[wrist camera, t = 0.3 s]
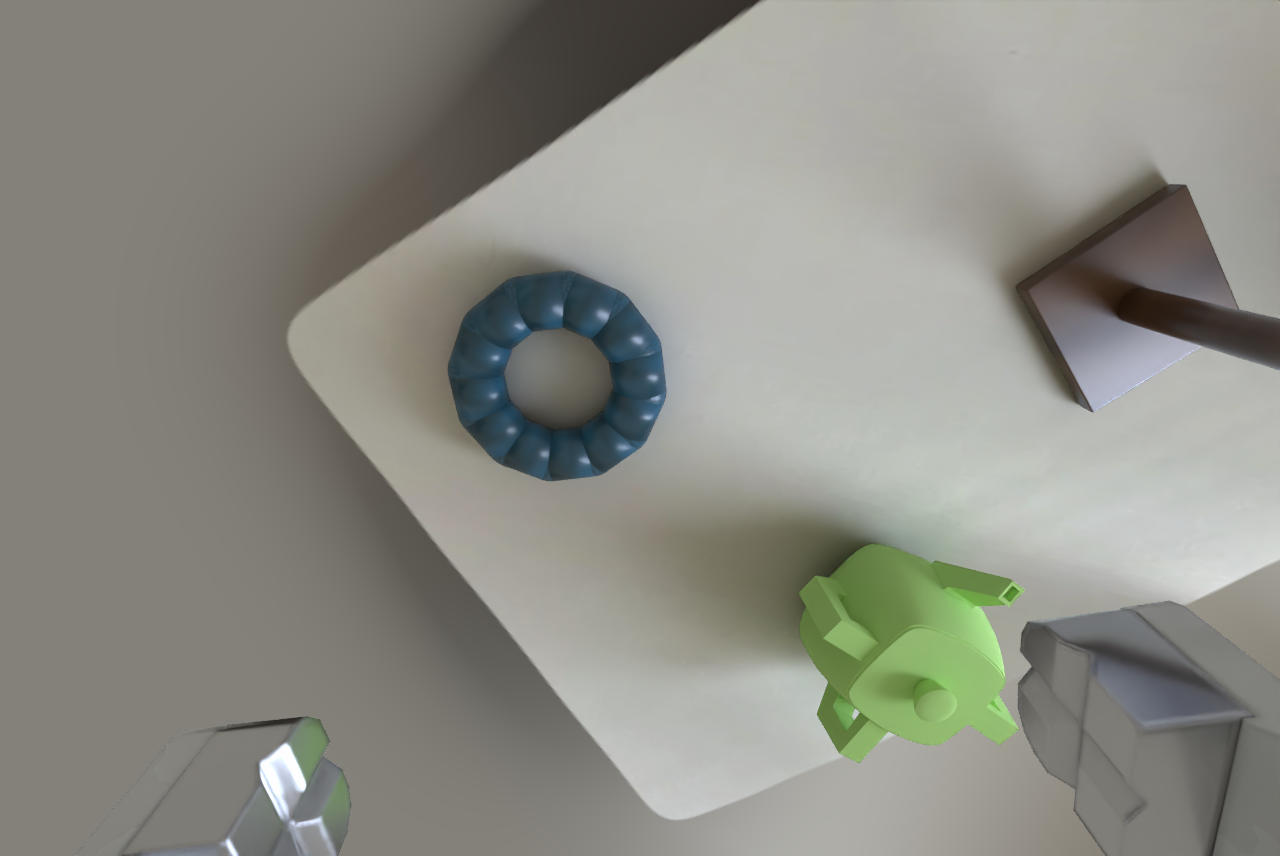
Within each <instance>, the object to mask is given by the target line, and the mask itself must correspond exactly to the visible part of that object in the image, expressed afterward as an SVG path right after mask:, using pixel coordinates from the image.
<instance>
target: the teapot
mask: <svg viewBox="0 0 1280 856" xmlns="http://www.w3.org/2000/svg"><path fill="white" fill-rule="evenodd" d="M1024 591H1025V590H1024V589H1023V588H1022V587H1020V586H1019V585H1018V584H1016V583H1015V582H1014V581H1012V580H1011V579H1008V578H1004V577H1000V576H996V575H992V574H988V573H984V572H980V571H976V570H971V569H967V568H963V567H959V566H955V565H951V564H947V563H943V562H939V561H935V562H933V563H931V562H929V561H927V560H925V559H923V558H921V557H918V556H916V555H913V554H910V553H908V552H905V551H902V550H899V549H896V548H893V547H889V546H885V545H880V544H875V543H874V544H868V545H866V546H864V547H863V548H861V549H859V550H857V551H856V552H855V553H854V554H853V555H851V556H850V557H849V558H848V559H847V560H846V561H845V562H844V563H843V564H842V565H841V566H839V567H838V568H837V569H836V570H835V572H834V573H833V574H832V575H831V576H830V577H829V578H827V577H821V576H816V575H815V576H814V578H813V579H812V580H811V581H810V582H809V583H808V584H807V585H806V586H805V587H804V588H803V589H802V590H801V591H800V592H799V595H800V597H801V598H802V600H803V602H804V604H805V606H806V608H805V610H804V612H803V615H802V617H801V620H800V626H799V632H800V637H801V640H802V642H803V645H804V646H805V648H806V650H807V652H808V654H809V656H810V658H811V659H812V661H813V662H814V664H815V666H816V667H817V668H818V670H819V671H820V672H821V674H822V675H823V676H824V677H825V678H826V679H827V681H828V684H827V687H826V690H825V693H824V695H823V698H822V701H821V704H820V706H819V709H818V712H817V716H818V717H819V719H820V721H821V723H822V724H823V726H824V728H825V730H826V731H827V733H828V735H829V736H830V738H831V740H832V742H833V743H834V745H835V747H836V749H837V750H838V752H839V753H840V754H842V755H844V756H846V757H848V758H850V759H852V760H854V761H856V762H858V763H860V762H861V761H862V760H863V759H864V757H865V756H866V755H867V754H868V753H869V752H870V751H871V750H872V749H873V748H874V747H875V745H876V744H877V743H878V742H879V741H880V740H881V739H882V738H883V737H884V736H885V734H886V733H887V732H888V731H889V732H891V733H893V734H895V735H898V736H900V737H902V738H905V739H907V740H910V741H913V742H916V743H920V744H924V745H938V744H942V743H943V742H945V741H946V740H948V739H949V738H951V737H952V736H954V735H955V734H956V733H957V732H959V731H960V730H961V729H962V728H964V727H965V726H966V725H967V724H969V725H970V726H972V727H973V728H975V729H976V730H978V731H979V732H981V733H982V734H984V735H985V736H986V737H988V738H989V739H991V740H992V741H994V742H995V743H997V744H998V745H1001V744H1002V743H1003V742H1004V741H1005V740H1007V739H1008V738H1009V737H1010V736H1011V735H1013V734H1014V733H1015V732H1016V731H1018V730H1019V729H1018V727H1017V725H1016V724H1015V722H1014V720H1013V719H1012V717H1011V715H1010V713H1009V712H1008V710H1007V708H1006V707H1005V705H1004V703H1003V701H1002V700H1001V698H1000V697H999V695H998V694H999V693H1000V692H1001V691H1002V689H1003V688H1004V686H1005V682H1006V680H1005V672H1004V666H1003V661H1002V656H1001V652H1000V648H999V645H998V641H997V639H996V636H995V634H994V631H993V629H992V627H991V625H990V623H989V621H988V619H987V617H986V616H985V614H984V612H983V611H982V609H981V608H980V607H979V606H994V605H1007V606H1009V607H1010V606H1011V605H1012V604H1013V603H1014V602H1015V600H1016V599H1017V598H1018V597H1019V596H1020V595H1021V594H1022V593H1023V592H1024ZM855 708H856V709H857V710H858V711H859V712H860V713H859V715H858V716H857V717H856V719H855V720H853V718H852V714H853V712H854V709H855Z"/></svg>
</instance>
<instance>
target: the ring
mask: <svg viewBox="0 0 1280 856" xmlns="http://www.w3.org/2000/svg"><path fill="white" fill-rule="evenodd" d="M558 328H565V329H567V330H570V331H572V332H574V333H577V334H579V335H582V336H584V337H587V338H589V339H591V340H592V341H593V342H594V344H595V345H596V346H597V347H598V349H599V350H600V351H601V352H602V353H603V355H604V356H605V357H606V358H607V360H608V361H609V365H610V372H611V378H612V385H613V389H612V391H611V393H610V396H609V398H608V400H607V403H606V405H605V407H604V410H603V411H602V412H601V413H600V414H598V415H597V416H596V417H594V418H593V419H591V420H590V421H589V422H587V423H586V424H585V425H583V426H582V427H574V428H566V429H557V430H553V429H551V428H548V427H546V426H543V425H540V424H538V423H535V422H532V421H530V420H527V418H526V417H525V416H524V415H523V414H522V413H521V412H520V410H519V409H518V408H517V407H516V406H515V405H514V404H513V402H512V401H511V400H510V399H509V395H508V391H507V386H506V381H505V376H504V371H505V368H506V365H507V362H508V359H509V357H510V354H511V351H512V348H514V347H515V346H516V345H517V344H519V343H520V342H521V341H522V340H524V339H525V338H526V337H528V336H529V335H530V334H531V333H533V332H534V331H542V330H550V329H558ZM448 376H449V380H450V384H451V388H452V393H453V397H454V401H455V405H456V409H457V413H458V417H459V420H460V422H461V424H462V425H463V427H464V428H465V429H466V430H467V431H468V432H469V433H470V434H471V436H472V437H473V438H474V439H475V440H476V441H477V442H478V443H479V444H480V445H481V446H482V448H483V449H484V450H485V451H486V452H487V453H488V454H489V455H490V456H491V457H492V458H493V459H494V460H495V461H496V462H498V463H499V464H501V465H503V466H506V467H509V468H512V469H514V470H517V471H520V472H522V473H525V474H528V475H531V476H533V477H536V478H539V479H541V480H545V481H559V480H568V479H576V478H585V477H593V476H598V475H601V474H603V473H605V472H607V471H608V470H609V469H611V468H612V467H614V466H615V465H617V464H618V463H619V462H621V461H622V460H624V459H625V458H627V457H628V456H629V455H631V454H632V453H634V452H635V451H637V450H638V449H639V448H641V447H642V446H643V444H644V443H645V442H646V440H647V438H648V436H649V434H650V432H651V430H652V427H653V425H654V423H655V421H656V419H657V416H658V414H659V412H660V410H661V408H662V406H663V403H664V401H665V398H666V382H665V374H664V365H663V356H662V348H661V343H660V340H659V338H658V336H657V335H656V333H655V332H654V331H653V329H652V328H651V327H650V325H649V324H648V323H647V321H646V320H645V319H644V317H643V316H642V315H641V313H640V312H639V311H638V310H637V308H636V307H635V306H634V304H633V303H632V302H631V300H630V299H629V298H628V297H627V296H626V295H625V294H624V293H622V292H621V291H619V290H616V289H614V288H612V287H609V286H607V285H604V284H602V283H600V282H597V281H595V280H593V279H590V278H588V277H585V276H583V275H581V274H578V273H576V272H573V271H556V272H549V273H541V274H533V275H525V276H518V277H514V278H511V279H508V280H507V281H505V282H504V283H503V284H501V285H500V286H499V287H498V288H496V289H495V290H494V291H493V292H491V293H490V294H489V295H488V296H487V297H485V298H484V299H483V300H482V301H480V302H479V303H478V304H477V305H475V306H474V307H473V308H472V309H471V310H470V311H468V312H467V314H466V315H465V317H464V318H463V321H462V323H461V326H460V330H459V333H458V336H457V339H456V342H455V345H454V348H453V351H452V354H451V357H450V360H449V364H448Z"/></svg>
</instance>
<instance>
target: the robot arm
mask: <svg viewBox="0 0 1280 856" xmlns="http://www.w3.org/2000/svg"><path fill="white" fill-rule="evenodd" d="M1020 652H1021V653H1022V654H1023V656H1024V657H1025V658H1026V659H1027V661H1028V662H1029V663H1030V664H1031V666H1032V667H1031V668H1030V670H1029V671H1028V672H1027V673H1026V674H1025V676H1024V677H1023V678H1022V679H1021V680H1020V682H1019V683H1018V710H1019V714H1020V718H1021V722H1022V726H1023V729H1024V733H1025V735H1026V737H1027V739H1028V741H1029V743H1030V745H1031V748H1032V749H1033V752H1034V753H1035V755H1036V756H1037V758H1038V759H1039V761H1040V762H1041V764H1042V765H1043V767H1044V768H1045V770H1046V771H1047V773H1049V774H1050V775H1052V776H1054V777H1056V778H1057V779H1059V780H1061V781H1062V782H1064V783H1066V784H1067V785H1069V786H1071V787H1072V788H1074V789H1075V800H1074V812H1075V813H1076V814H1077V816H1078V817H1079V819H1080V820H1081V821H1082V823H1083V824H1084V826H1085V827H1086V829H1087V830H1088V832H1089V833H1090V834H1091V836H1092V837H1093V839H1094V840H1095V841H1096V843H1097V844H1098V846H1099V847H1100V848H1101V850H1102V851H1103V853H1104V854H1105V856H1280V680H1279V679H1278V678H1277V677H1276V676H1274V675H1273V674H1272V673H1271V672H1269V671H1268V670H1267V669H1265V668H1264V667H1263V666H1262V665H1260V664H1259V663H1258V662H1256V661H1255V660H1254V659H1252V658H1251V657H1250V656H1249V655H1247V654H1246V653H1245V652H1244V651H1242V650H1241V649H1240V648H1238V647H1237V646H1236V645H1234V644H1233V643H1232V642H1231V641H1229V640H1228V639H1227V638H1225V637H1224V636H1223V635H1222V634H1220V633H1219V632H1218V631H1216V630H1215V629H1214V628H1213V627H1211V626H1210V625H1209V624H1207V623H1206V622H1205V621H1203V620H1202V619H1201V618H1200V617H1198V616H1197V615H1196V614H1194V613H1193V612H1192V611H1190V610H1189V609H1188V608H1186V607H1185V606H1183V605H1180V604H1177V603H1174V602H1172V601H1163V602H1157V603H1150V604H1144V605H1137V606H1130V607H1124V608H1121V609H1119V610H1109V611H1102V612H1095V613H1087V614H1080V615H1073V616H1066V617H1058V618H1051V619H1044V620H1037V621H1030V622H1027V624H1026V625H1025V627H1024V629H1023V631H1022V634H1021V647H1020ZM329 742H330V739H329V737H328V735H327V733H326V731H325V729H324V727H323V725H322V723H321V721H320V720H319V719H316V718H311V717H298V718H289V719H279V720H269V721H260V722H251V723H242V724H232V725H227V726H223V727H212V728H203V729H193V730H187V731H185V732H183V733H181V734H179V735H177V736H175V737H173V738H171V739H170V741H169V742H168V743H167V745H165V747H164V748H163V749H162V750H161V752H160V753H159V754H158V755H157V756H156V757H155V759H154V760H153V761H152V762H151V763H150V765H149V766H148V767H147V768H146V770H145V771H144V772H143V773H142V774H141V776H140V777H139V778H138V779H137V780H136V782H135V783H134V784H133V785H132V786H131V788H130V789H129V790H128V791H127V792H126V794H125V795H124V796H123V797H122V799H121V800H120V801H119V802H118V803H117V805H116V806H115V807H114V808H113V809H112V811H111V812H110V813H109V814H108V816H107V817H106V818H105V819H104V820H103V821H102V823H101V824H100V825H99V826H98V828H97V829H96V830H95V831H94V832H93V834H92V835H91V836H90V837H89V838H88V840H87V841H86V842H85V843H84V844H83V846H82V847H81V848H80V849H79V850H78V852H77V853H76V854H75V855H74V856H338V855H339V852H340V849H341V847H342V845H343V842H344V840H345V837H346V835H347V831H348V823H349V817H350V810H351V801H350V793H349V785H348V783H347V780H346V778H345V775H344V773H343V770H342V769H341V768H339V767H338V766H336V765H335V764H334V763H332V762H331V761H329V760H328V759H326V758H325V757H324V754H325V752H326V749H327V747H328V745H329Z"/></svg>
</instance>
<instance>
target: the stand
mask: <svg viewBox="0 0 1280 856" xmlns="http://www.w3.org/2000/svg"><path fill="white" fill-rule="evenodd" d="M1016 289H1017V290H1018V292H1019V294H1020V296H1021V298H1022V300H1023V301H1024V303H1025V305H1026V307H1027V309H1028V311H1029V313H1030V314H1031V316H1032V318H1033V320H1034V322H1035V324H1036V325H1037V327H1038V329H1039V331H1040V333H1041V335H1042V336H1043V338H1044V340H1045V342H1046V344H1047V346H1048V347H1049V349H1050V351H1051V353H1052V355H1053V357H1054V359H1055V360H1056V362H1057V364H1058V366H1059V368H1060V370H1061V371H1062V373H1063V375H1064V377H1065V379H1066V381H1067V382H1068V384H1069V386H1070V388H1071V390H1072V392H1073V394H1074V395H1075V397H1076V399H1077V401H1078V403H1079V405H1080V406H1081V407H1083V408H1085V409H1087V410H1089V411H1091V412H1094V411H1096V410H1098V409H1099V408H1101V407H1103V406H1104V405H1106V404H1108V403H1109V402H1111V401H1113V400H1114V399H1116V398H1118V397H1119V396H1121V395H1123V394H1124V393H1126V392H1128V391H1129V390H1131V389H1133V388H1134V387H1136V386H1137V385H1139V384H1141V383H1142V382H1144V381H1146V380H1147V379H1149V378H1151V377H1152V376H1154V375H1156V374H1157V373H1159V372H1161V371H1162V370H1164V369H1166V368H1167V367H1169V366H1171V365H1172V364H1174V363H1176V362H1177V361H1179V360H1180V359H1182V358H1184V357H1185V356H1187V355H1189V354H1190V353H1192V352H1194V351H1195V350H1197V349H1199V348H1200V347H1202V346H1203V347H1206V348H1209V349H1212V350H1216V351H1219V352H1222V353H1225V354H1228V355H1232V356H1235V357H1238V358H1241V359H1245V360H1248V361H1251V362H1254V363H1257V364H1261V365H1264V366H1267V367H1270V368H1273V369H1277V370H1280V319H1278V318H1274V317H1269V316H1265V315H1261V314H1256V313H1252V312H1248V311H1243V310H1239V308H1238V306H1237V303H1236V301H1235V298H1234V296H1233V294H1232V291H1231V289H1230V287H1229V284H1228V282H1227V280H1226V277H1225V275H1224V273H1223V270H1222V268H1221V265H1220V263H1219V261H1218V258H1217V256H1216V254H1215V251H1214V249H1213V247H1212V244H1211V242H1210V240H1209V237H1208V235H1207V233H1206V230H1205V228H1204V225H1203V223H1202V221H1201V218H1200V216H1199V214H1198V211H1197V209H1196V207H1195V204H1194V202H1193V200H1192V197H1191V195H1190V192H1189V190H1188V188H1187V186H1186V185H1182V184H1169V185H1168V186H1166V187H1164V188H1163V189H1161V190H1160V191H1158V192H1157V193H1155V194H1154V195H1152V196H1151V197H1149V198H1148V199H1146V200H1145V201H1143V202H1142V203H1140V204H1139V205H1137V206H1136V207H1134V208H1133V209H1131V210H1130V211H1128V212H1127V213H1125V214H1124V215H1122V216H1121V217H1119V218H1118V219H1116V220H1115V221H1113V222H1112V223H1110V224H1109V225H1107V226H1106V227H1104V228H1103V229H1101V230H1100V231H1098V232H1097V233H1095V234H1094V235H1092V236H1091V237H1089V238H1088V239H1086V240H1085V241H1083V242H1082V243H1080V244H1079V245H1077V246H1076V247H1074V248H1073V249H1071V250H1070V251H1068V252H1067V253H1065V254H1064V255H1062V256H1061V257H1059V258H1058V259H1056V260H1055V261H1053V262H1052V263H1050V264H1049V265H1047V266H1046V267H1044V268H1043V269H1041V270H1040V271H1038V272H1037V273H1035V274H1034V275H1032V276H1031V277H1029V278H1028V279H1026V280H1025V281H1023V282H1022V283H1020V284H1019V285H1017V286H1016Z"/></svg>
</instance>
